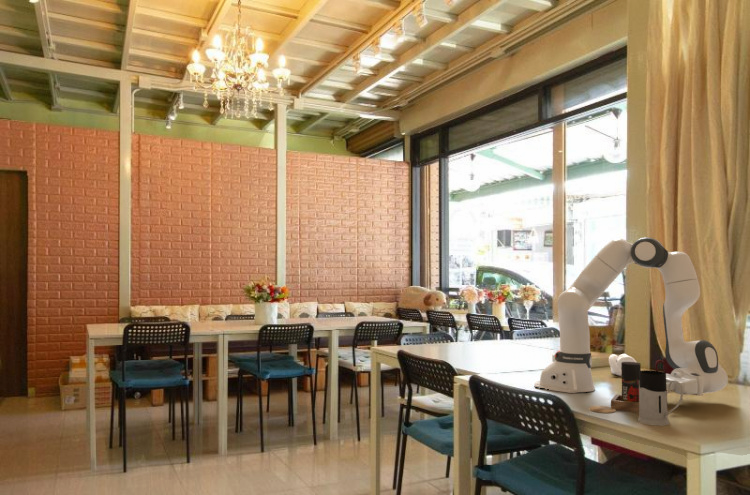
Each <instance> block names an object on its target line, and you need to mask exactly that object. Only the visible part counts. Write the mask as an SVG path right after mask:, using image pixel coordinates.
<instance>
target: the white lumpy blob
mask: <svg viewBox="0 0 750 495" xmlns="http://www.w3.org/2000/svg"><path fill="white" fill-rule="evenodd" d="M622 362H636V363H638V362H637V361H636V360H635V358H634V357H633V356H630V355H628V354H626V353H622V354H619V355H617V354H615V353H614V354H610V355H609V356H608V365H609V367H610V372H611V374H613V375H617V376H618V377H620V378H622V365H621V363H622Z"/></svg>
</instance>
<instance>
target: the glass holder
mask: <svg viewBox="0 0 750 495" xmlns="http://www.w3.org/2000/svg"><path fill="white" fill-rule="evenodd" d="M672 382H677V383H678V384H679V385H680V387H681V394H680V397H679V399H678V400H679V401H678V402H677V404H676V405H675V406H674V407H673V408H672V409H670V410H669V411H668V394H670V393H671V390H670V387H671V384H672ZM683 397H684V394H683V387H682V384H681V383H680V382H678V381H671V382H670V383H669V385H668V389H666V373H665V372H664V371H661V370H658V371H656V370H651V369H650V370H648V369H647V370H646V369H645V370H641V371H639V413H638V415H639V416H638V419H637V422H640V423H641V424H644V423H645V425H650V426H668V425H670V421H669V418H668V415H669V414H671V413H672V412H673V411H674V410H676V409H677V408H678V407H679V406H680V404H681V403H682V400H683Z"/></svg>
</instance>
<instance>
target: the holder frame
mask: <svg viewBox="0 0 750 495" xmlns="http://www.w3.org/2000/svg"><path fill="white" fill-rule="evenodd" d="M610 407H611V408H615V411H618V412H619V411H620V412H629V413H638V414H639V403H637V402H627V401H622V394H618V393H616V394H615V395H614V396H613V397H612V398H611V400H610Z"/></svg>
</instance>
